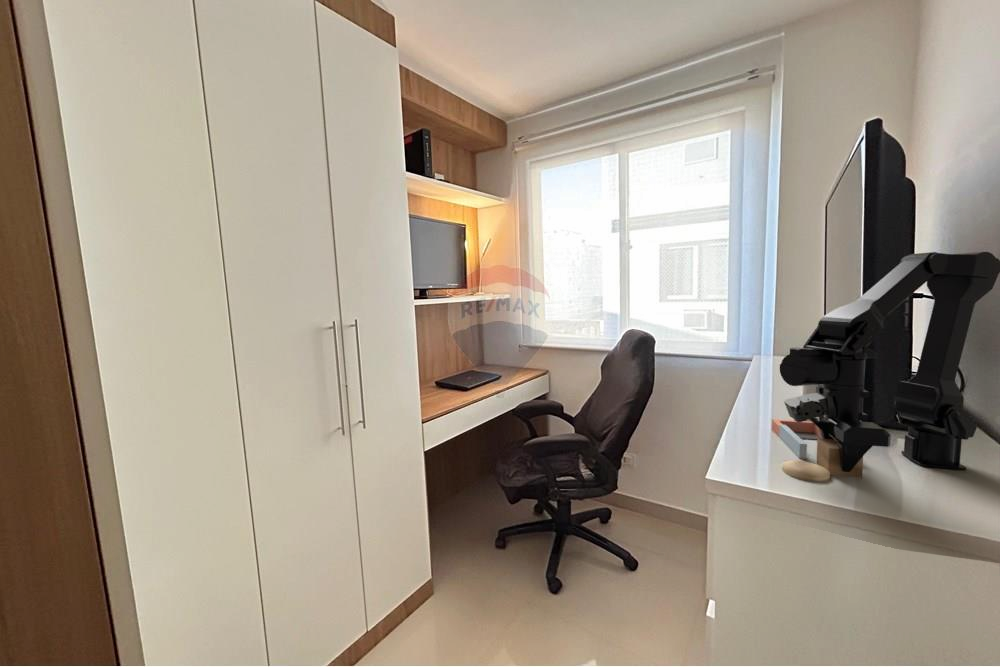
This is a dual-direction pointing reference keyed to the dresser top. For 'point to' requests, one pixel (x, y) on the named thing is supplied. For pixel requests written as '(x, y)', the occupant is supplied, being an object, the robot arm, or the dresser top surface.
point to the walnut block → (834, 459)
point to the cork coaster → (806, 471)
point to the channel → (793, 441)
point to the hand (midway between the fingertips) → (838, 464)
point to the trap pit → (798, 428)
